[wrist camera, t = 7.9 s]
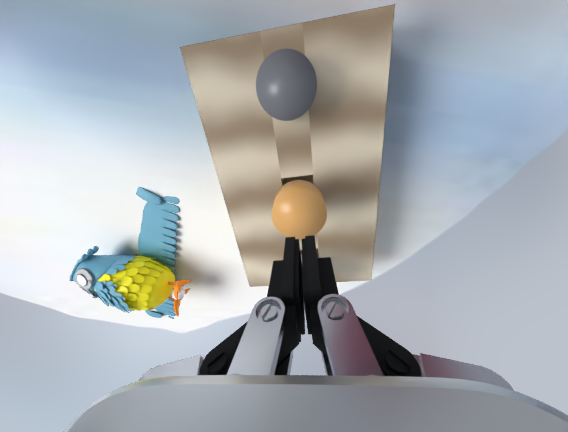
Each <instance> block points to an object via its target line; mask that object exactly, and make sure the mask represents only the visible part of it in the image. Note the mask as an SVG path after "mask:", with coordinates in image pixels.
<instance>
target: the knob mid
mask: <svg viewBox="0 0 568 432" xmlns="http://www.w3.org/2000/svg"><path fill="white" fill-rule="evenodd" d="M271 216H272V221H273V224H274V226H275V227H276V229H277V230H278V231H279V232H280V233H282V234H283V235H285V236H287V237H295V239H304V238H305V236H310V235H315V234H317V233H318V232H319V231H320V230H321V229H322V228H323V226H324V225H325V222H326V219H327V210H326V206H325V203H324V199H323V196H322V193H321V192H320V190H319V189H318V188H317V187H316V186H315V185H314V184H312V183H310V182H308V181H304V180H294V181H290V182H288V183H286V184H284V185H283V186H282V187H281V188H280V189H279V190H278V192H277V194H276V196H275V200H274V204H273V208H272V214H271Z"/></svg>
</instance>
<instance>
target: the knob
mask: <svg viewBox="0 0 568 432" xmlns="http://www.w3.org/2000/svg"><path fill="white" fill-rule="evenodd" d="M316 91H317V77H316V73H315V70H314V67H313V65H312V64H311V62H310V61H309V59H308V58H307V57H306V56H305V55H304V54H302V53H301V52H299V51H297V50H294V49H287V48H286V49H280V50H277V51H275V52H273V53H271V54H270V55H269V56H268V57H266V59H265V60H264V61H263V63H262V64H261V66H260V68H259V70H258V73H257V78H256V92H257V97H258V100H259V102H260V104H261V106H262V107H263V109H264V110H265V111H266V112H267V113H268V114H269V115H270V116H272V117H273V118H275V119H278V120H282V121H291V120H294V119H297V118H299V117H301V116H302V115H304V114H305V113H306V112H307V111H308V109H309V108H310V107H311V105H312V103H313V101H314V99H315V96H316Z"/></svg>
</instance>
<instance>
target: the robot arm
mask: <svg viewBox="0 0 568 432" xmlns="http://www.w3.org/2000/svg"><path fill="white" fill-rule="evenodd" d="M304 305H305V313H306V320H307V328H308V334H312V338H313V344H314V345H315V346H316V347H317V348H318V349H319V350H321V353H322V358H323V362H324V367H325V371H326V375H327V376H313V375H312V376H309V375H300V376H299V375H290V371H291V365H292V358H293V349H294V348H295V347H296V346H297V345H298V344H299V342H301V334H305V318H304ZM63 432H568V415H566V414H564V413H563V412H561V411H559V410H557V409H555V408H553V407H551V406H549V405H547V404H545V403H543V402H541V401H539V400H536V399H534V398H531V397H529V396H526V395H524V394H521V393H519V392H516V391H514V390H513V389H512V387H511V386H510V384H509V383H508V382H507V381H505V380H504V379H503V378H502V377H501V376H500V375H498V374H497V373H495V372H493V371H492V370H490V369H487V368H485V367H482V366H477V365H473V364H469V363H464V362H459V361H454V360H450V359H445V358H440V357H436V356H431V355H426V354H422V353H420V356H418V355H413V354H411V353H410V352H409V351H408V350H406V349H405V348H404V347H402V346H401V345H399V344H398V343H396V342H395V341H393V340H392V339H390V338H389V337H388V336H386V335H385V334H383V333H381V332H380V331H379V330H377V329H376V328H374V327H373V326H371V325H370V324H368V323H367V322H365V321H364V320H362V319H361V318H359V317H358V316H356V313H355V311H354V309H353V307H352V305H351V303H350V302H349V301H348V300H347V299H346V298H345V297H343V296H341V295H339V294H338V289H337V285H336V280H335V275H334V271H333V266H332V261H331V257H324V258H317V251H316V243H315V235H310V236H305V238H304V239H302V261H301V252H300V244H299V239H295V237H286V238H285V247H284V256H283V260H276V261H273V265H272V271H271V277H270V283H269V289H268V295H267V297H266V298H263V299H261V300H260V301H258V302H257V303H256V304H255V306H254V308H253V310H252V312H251V315H250V318H249V320H248V322H247V323H245V324H244V325H243V326H241V327H240V328H239V329H238V330H236V331H235V332H234V333H233V334H231V335H230V336H229V337H228V338H226V339H225V340H224V341H223V342H221V343H220V344H219V345H218V346H216V347H215V348H214V349H213V350H211V351H210V352H209V353H208V354H207V355H206V356H204V357H202V356H201V355H198V356H194V357H190V358H186V359H182V360H179V361H175V362H171V363H167V364H163V365H159V366H156V367H154V368H151V369H150V370H149V371H147V372H146V373H145V374H144V375H143V376H142V377H141V378H140V379H139V381H137V382H134V383H131V384H128V385H126V386H123V387H121V388H118V389H116V390H114V391H112V392H110V393H108V394H106V395H104V396H102V397H101V398H99V399H97V400H96V401H94V402H93V403H92V404H90V405H89V406H88V407H87V408H85V409H84V410H83V411H82V412H81V413H80V414H79V415H78V416H77V417H76V418H75V419H74V420H73V421H72V422H71V424H69V426H68V427H67V428H66V429H65V430H64V431H63Z"/></svg>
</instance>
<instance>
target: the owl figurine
mask: <svg viewBox="0 0 568 432" xmlns="http://www.w3.org/2000/svg"><path fill="white" fill-rule="evenodd" d="M136 194H137V195H138V196H139V197H141V198H142V199H144V200H146V201H147V204H146V205H145V207H144V210H143V219H142V224H141V232H140V234H139V238H138V254H139V255H131V256H127V255H93V254H94V253H96V252H97V251H98V249H99V248H98V247H97V246H94V248H93V249H89V250H88V252H87V255H86V254H84V255H83V256H82V258H81V259H80V260H78V261H77V264H76V265H75V267H74V269H73V271H72V273H71V276H70V281H75V282H77V284H78V285H79V286H80V288H81V289H82V290H84V291H85V292H87V293H90V294H91V295H93V296H94V297H93V298H95V297H96V298H97V297H99V298H100V299H101V300H102V301H103V302H104V303H105V304H106V305H107V306H109V305H108V304H110V305H111V306H113V307H114V306H115V307H116V308H118V309H120V310H122V309H123V310H122V311H123V312H125V311H126V312H128V311H131V310H138V309H139V310H145V311H146V313H147V314H148V315H150V316H152V317H157V318H160V317H162V316H163V315H162V314H166V315H171V316H175V313H176V315H177V316H178V315H179V310H178V308H179V306H180V300H181V299H182V298H183V296H184V295H185V294H186V293H187V292H188V290H190V288H189V289H186V290H184V289H183V288H182V286H184V284H186V283H188V282H190V281H191V280H180V281H177V282H176V283H175V276H174V274H173V273H172V272H173V271H174V270H175V269H174V267H172V266H170V265H175V262H174V261H173V260H172V259H174V258H175V254H174V253H172V252H175V251H176V248H175V247H174V246H172V245H175V244H176V240H175V239H173V238H171V237H176V236H177V233H176V232H175V231H173V230H171V229H174V230H175V229H177V228H178V227H177V224H175V223H174V222H172V221H178V216H177V215H176V214H174V213H178V212H179V211H180V209H179V207H178V206H176V205H173V204H170V203H174V204H178V203H179V199H178V198H177V197H170V196H165V197H161V198H160V197H159V196H157V195H155V194H153V193H151V192H149V191H147V190H145V189H144V188H141V187H138V189H137V192H136ZM164 201H167V202H170V203H167V202H164ZM165 210H166V211H165ZM168 211H170V212H168ZM172 212H174V213H172ZM167 219H168V220H167ZM169 220H171V221H169ZM168 228H170V229H168ZM166 235H167V236H166ZM169 236H170V237H169ZM167 243H169V244H167ZM170 244H172V245H170ZM167 257H168V258H167ZM169 258H171V259H169ZM174 286H175V287H174ZM173 300H174V301H173ZM172 304H174V306H173V305H172ZM149 309H156V310H157V311H158V312H160V313H161V314H160V313H155V312H151V311H149ZM124 310H125V311H124ZM173 312H175V313H173ZM128 313H129V312H128ZM171 316H168V317H170V318H172V319H174V317H171Z"/></svg>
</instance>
